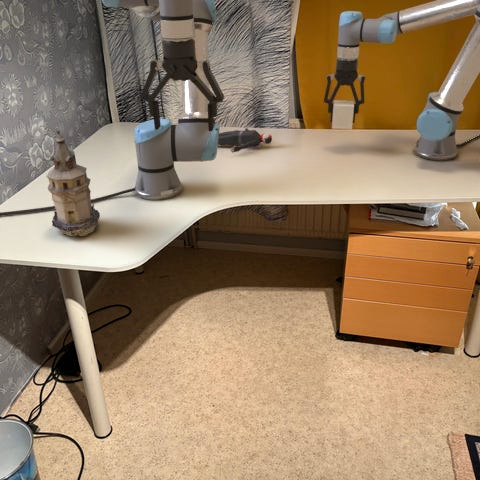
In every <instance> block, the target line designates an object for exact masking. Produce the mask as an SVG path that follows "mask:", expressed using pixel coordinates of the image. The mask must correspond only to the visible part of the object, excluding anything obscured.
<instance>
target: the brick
mask: <svg viewBox="0 0 480 480" xmlns="http://www.w3.org/2000/svg"><path fill="white" fill-rule="evenodd" d="M333 103H334V106H333V120H332V122H331V130H353V124H354V123H353V113H354V104H355V100H344V99H343V100H341V99H340V100H339V99H334V100H333Z"/></svg>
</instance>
